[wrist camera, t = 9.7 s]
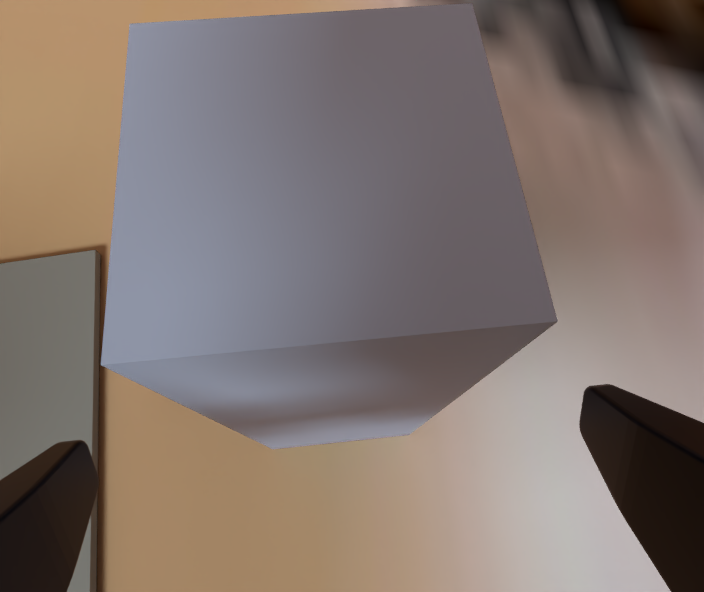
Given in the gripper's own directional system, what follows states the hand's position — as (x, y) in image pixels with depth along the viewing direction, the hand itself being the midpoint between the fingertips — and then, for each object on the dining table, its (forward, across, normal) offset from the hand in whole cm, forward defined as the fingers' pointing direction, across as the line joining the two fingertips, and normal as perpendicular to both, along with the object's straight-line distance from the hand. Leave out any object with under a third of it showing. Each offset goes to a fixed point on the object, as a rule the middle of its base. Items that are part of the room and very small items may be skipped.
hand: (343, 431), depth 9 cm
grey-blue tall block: (+7, 0, +3) cm, 8 cm away
